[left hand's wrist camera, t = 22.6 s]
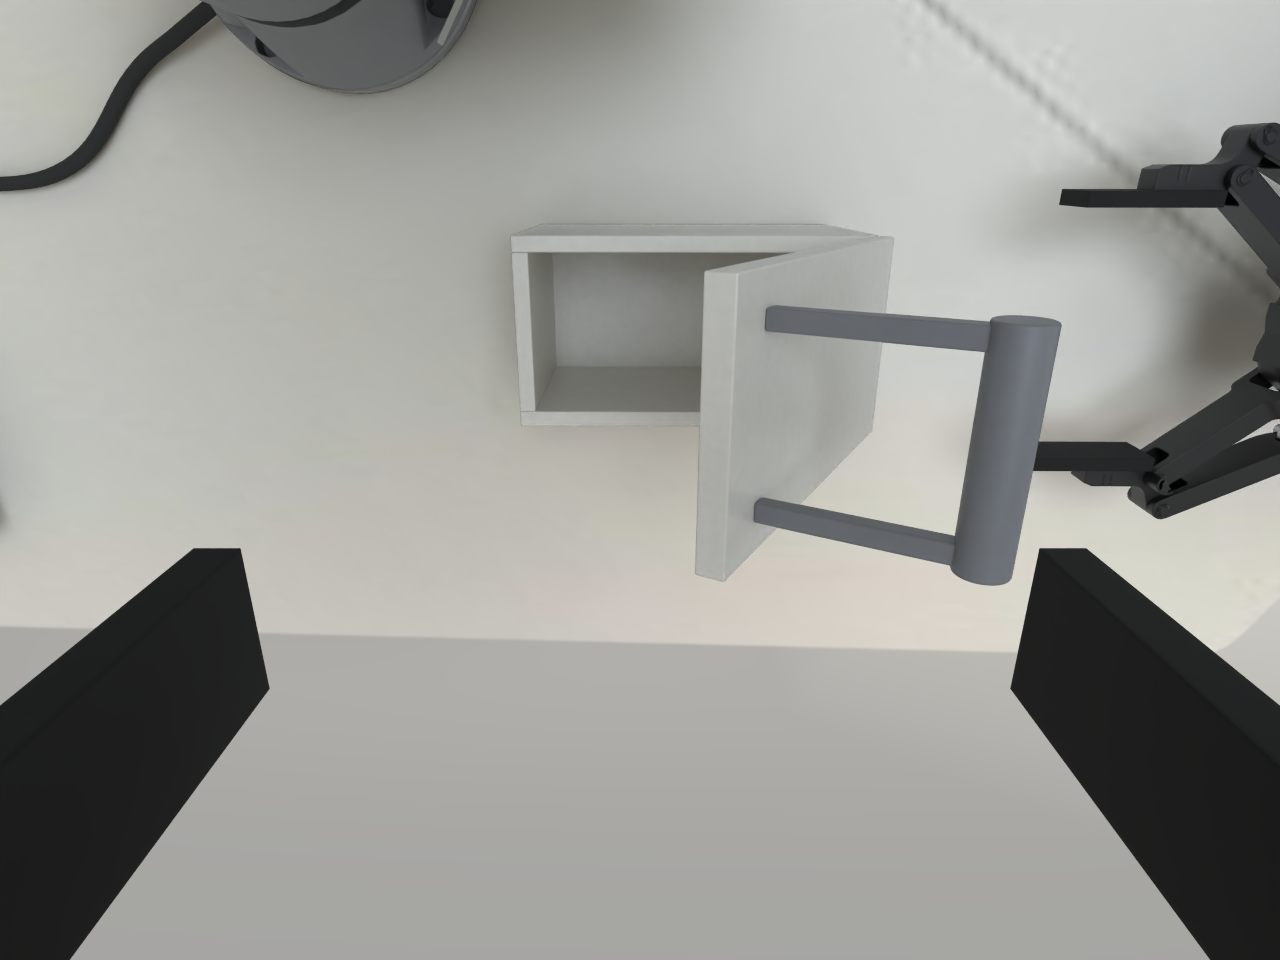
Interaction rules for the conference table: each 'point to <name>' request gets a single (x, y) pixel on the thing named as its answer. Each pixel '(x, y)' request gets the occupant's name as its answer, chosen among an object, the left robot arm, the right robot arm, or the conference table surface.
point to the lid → (849, 408)
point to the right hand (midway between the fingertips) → (1045, 335)
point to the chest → (627, 314)
